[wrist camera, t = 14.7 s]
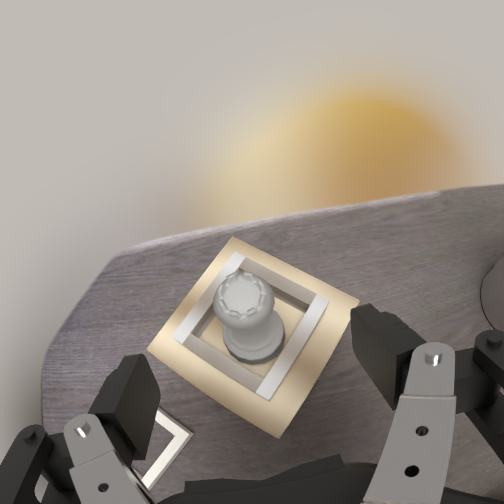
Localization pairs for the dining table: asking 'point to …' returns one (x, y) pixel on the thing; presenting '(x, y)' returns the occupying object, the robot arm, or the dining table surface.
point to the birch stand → (275, 370)
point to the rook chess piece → (249, 318)
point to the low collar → (171, 450)
